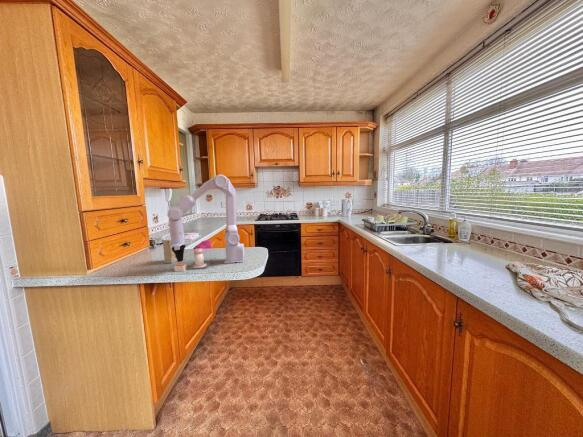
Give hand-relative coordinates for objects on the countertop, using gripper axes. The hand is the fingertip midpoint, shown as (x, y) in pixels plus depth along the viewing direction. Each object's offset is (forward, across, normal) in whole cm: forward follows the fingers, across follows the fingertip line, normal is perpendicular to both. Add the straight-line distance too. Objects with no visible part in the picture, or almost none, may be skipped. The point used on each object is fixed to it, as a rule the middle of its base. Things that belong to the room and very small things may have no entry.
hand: (180, 261), depth 109 cm
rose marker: (+3, 0, +8) cm, 9 cm away
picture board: (+4, -2, +8) cm, 10 cm away
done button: (+3, 0, 0) cm, 3 cm away
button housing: (+4, 0, 0) cm, 4 cm away
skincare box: (+4, -16, -6) cm, 18 cm away
